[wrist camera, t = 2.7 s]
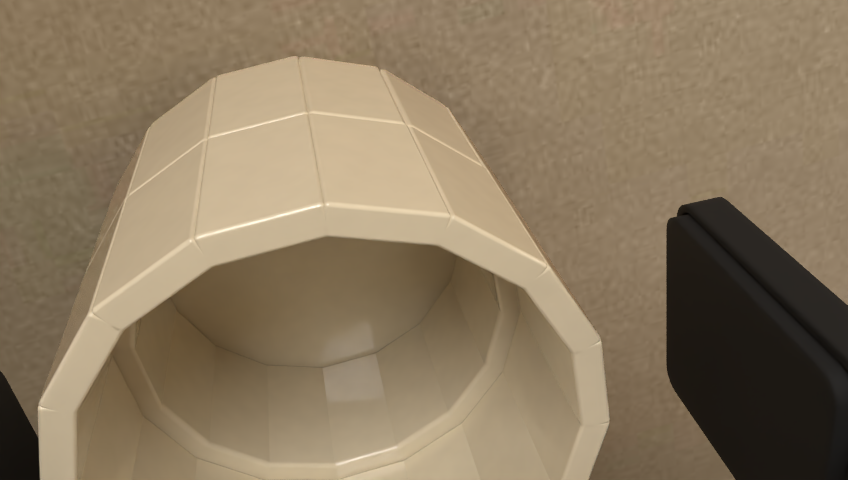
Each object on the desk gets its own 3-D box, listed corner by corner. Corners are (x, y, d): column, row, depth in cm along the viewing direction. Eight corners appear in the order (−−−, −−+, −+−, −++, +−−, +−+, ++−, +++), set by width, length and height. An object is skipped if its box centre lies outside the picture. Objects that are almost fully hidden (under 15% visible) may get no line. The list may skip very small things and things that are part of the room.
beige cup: (113, 370, 15) (44, 654, 10) (121, 21, 12) (29, 175, 7) (448, 383, 17) (532, 632, 12) (526, 79, 14) (682, 236, 9)
